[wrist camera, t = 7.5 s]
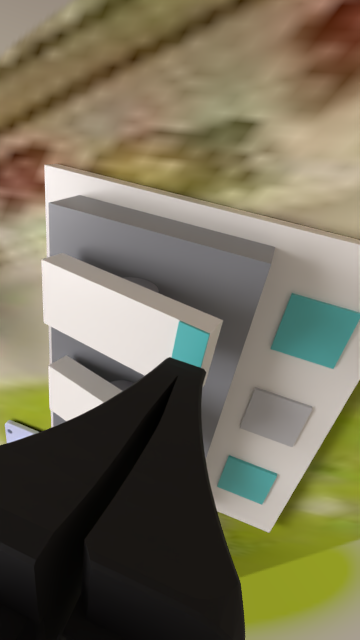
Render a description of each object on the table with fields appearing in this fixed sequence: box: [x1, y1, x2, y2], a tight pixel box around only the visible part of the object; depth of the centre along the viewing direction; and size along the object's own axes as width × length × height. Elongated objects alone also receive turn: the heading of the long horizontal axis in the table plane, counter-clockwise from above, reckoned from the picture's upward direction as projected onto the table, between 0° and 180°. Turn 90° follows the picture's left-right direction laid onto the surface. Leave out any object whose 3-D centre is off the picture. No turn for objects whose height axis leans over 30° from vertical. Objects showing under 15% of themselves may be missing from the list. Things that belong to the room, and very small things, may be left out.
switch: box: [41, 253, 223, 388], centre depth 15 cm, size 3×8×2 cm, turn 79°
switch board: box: [45, 164, 360, 532], centre depth 20 cm, size 21×18×4 cm
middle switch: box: [48, 355, 134, 421], centre depth 18 cm, size 3×8×2 cm, turn 79°
